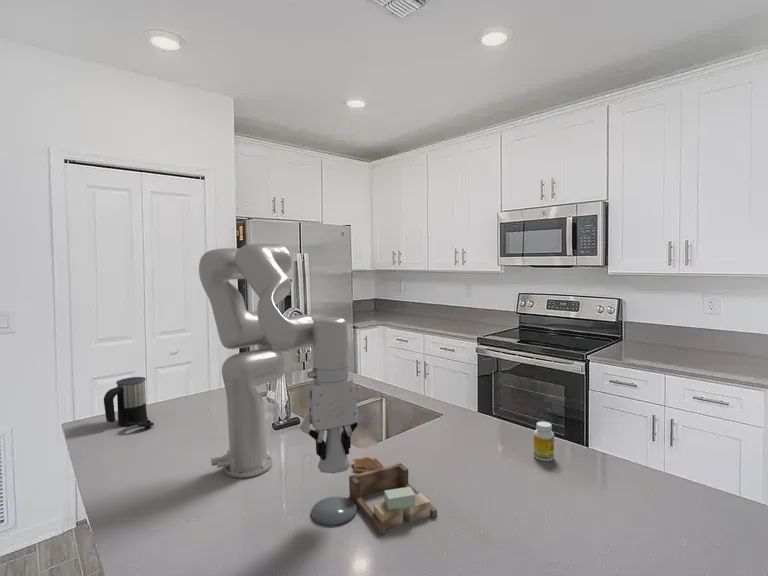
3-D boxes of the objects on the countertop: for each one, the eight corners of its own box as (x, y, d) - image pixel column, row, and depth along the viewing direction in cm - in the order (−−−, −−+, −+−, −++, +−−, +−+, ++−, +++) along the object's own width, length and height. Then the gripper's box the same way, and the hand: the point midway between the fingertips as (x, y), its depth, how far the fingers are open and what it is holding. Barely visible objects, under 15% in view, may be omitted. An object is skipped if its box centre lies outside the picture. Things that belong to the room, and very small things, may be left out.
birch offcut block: (410, 523, 97) (410, 507, 96) (401, 513, 100) (401, 498, 100) (430, 516, 99) (430, 501, 99) (420, 507, 102) (420, 492, 102)
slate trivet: (320, 530, 94) (320, 527, 94) (306, 506, 103) (306, 503, 103) (363, 517, 98) (363, 514, 98) (346, 495, 107) (346, 492, 107)
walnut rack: (379, 534, 92) (379, 511, 92) (349, 496, 107) (349, 475, 107) (437, 516, 99) (437, 494, 98) (401, 482, 113) (400, 463, 113)
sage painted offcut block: (388, 510, 95) (388, 498, 95) (384, 501, 99) (384, 490, 99) (415, 505, 97) (415, 494, 97) (410, 497, 100) (410, 486, 100)
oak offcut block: (382, 530, 94) (381, 514, 94) (374, 520, 98) (373, 505, 98) (403, 523, 96) (402, 508, 96) (394, 514, 100) (394, 499, 100)
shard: (389, 479, 116) (389, 472, 116) (361, 485, 113) (361, 478, 113) (375, 461, 126) (375, 455, 126) (349, 466, 123) (348, 459, 123)
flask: (318, 460, 103) (317, 417, 102) (350, 458, 104) (349, 416, 103) (316, 475, 96) (315, 430, 95) (350, 473, 96) (349, 428, 96)
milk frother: (130, 416, 162) (128, 376, 161) (170, 417, 160) (168, 377, 159) (100, 431, 148) (97, 388, 147) (144, 434, 146) (141, 389, 145)
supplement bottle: (534, 451, 130) (535, 419, 129) (554, 454, 127) (555, 422, 127) (532, 459, 125) (532, 425, 124) (553, 463, 123) (553, 428, 122)
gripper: (297, 384, 91) (301, 470, 92) (373, 372, 98) (375, 453, 100) (288, 375, 98) (291, 456, 99) (360, 365, 105) (362, 440, 107)
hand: (333, 453), depth 99 cm, fingers closed on flask, 4 cm apart
